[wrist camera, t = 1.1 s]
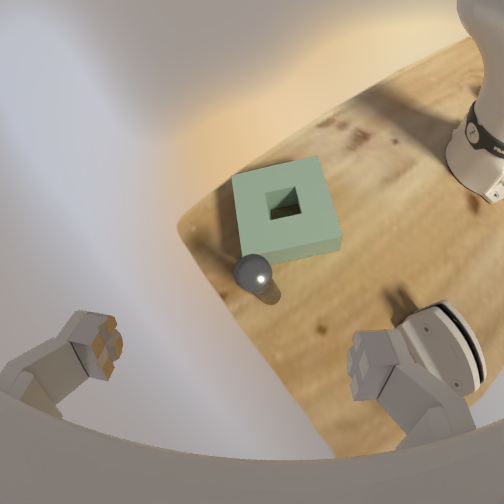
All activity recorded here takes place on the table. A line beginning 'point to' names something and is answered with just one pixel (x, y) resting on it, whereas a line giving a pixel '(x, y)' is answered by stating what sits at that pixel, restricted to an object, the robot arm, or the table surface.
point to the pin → (257, 278)
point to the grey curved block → (445, 346)
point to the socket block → (292, 227)
